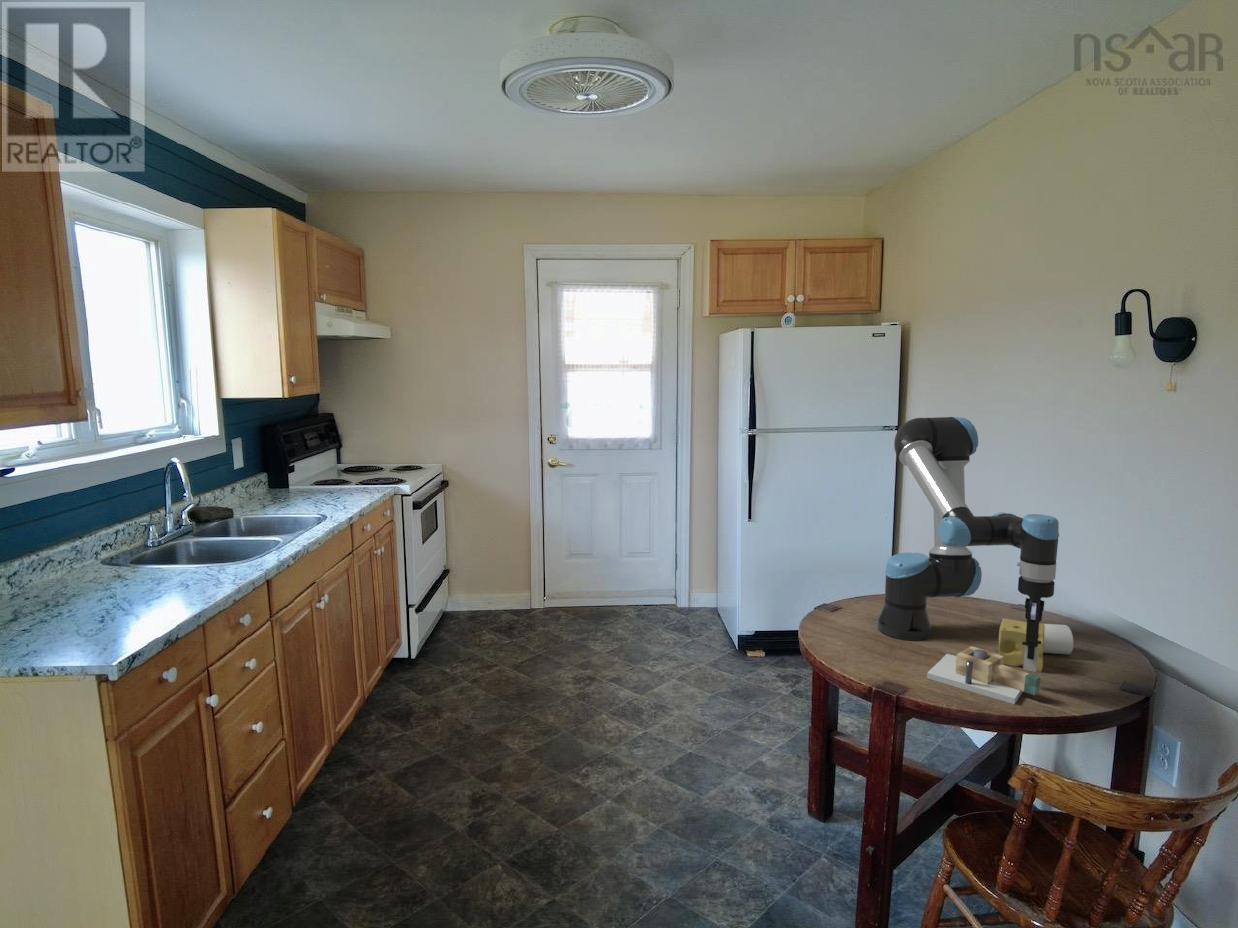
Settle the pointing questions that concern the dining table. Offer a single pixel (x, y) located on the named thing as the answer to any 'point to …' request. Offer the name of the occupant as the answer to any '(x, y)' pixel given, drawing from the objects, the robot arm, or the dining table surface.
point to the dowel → (969, 672)
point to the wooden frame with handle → (996, 671)
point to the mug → (1057, 639)
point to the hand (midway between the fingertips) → (1029, 669)
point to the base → (947, 675)
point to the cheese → (1017, 643)
